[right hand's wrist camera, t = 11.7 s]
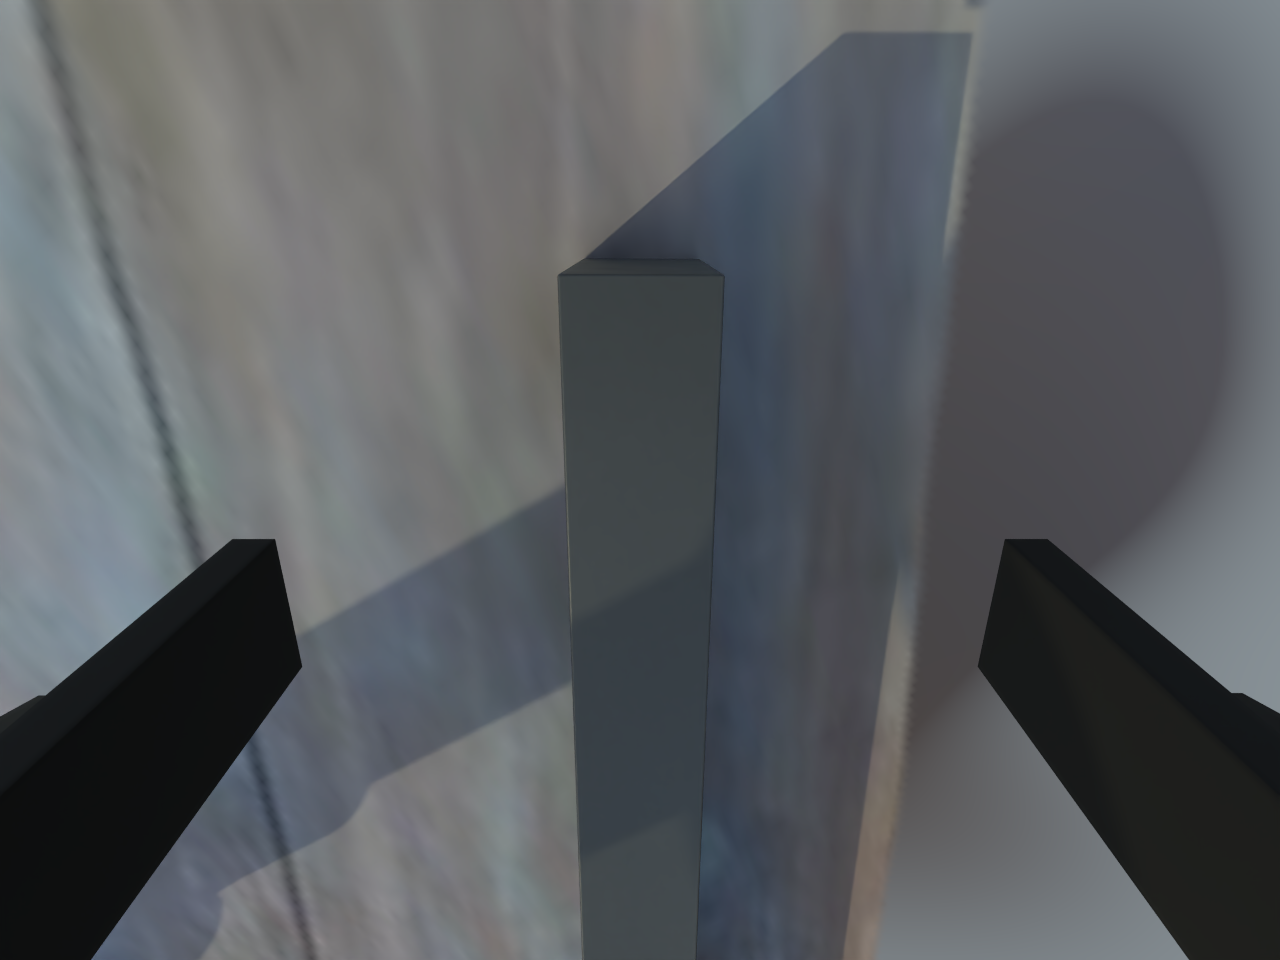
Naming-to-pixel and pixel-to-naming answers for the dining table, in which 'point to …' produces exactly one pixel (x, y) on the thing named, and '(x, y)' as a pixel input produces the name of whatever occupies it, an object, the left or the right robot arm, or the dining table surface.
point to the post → (640, 588)
